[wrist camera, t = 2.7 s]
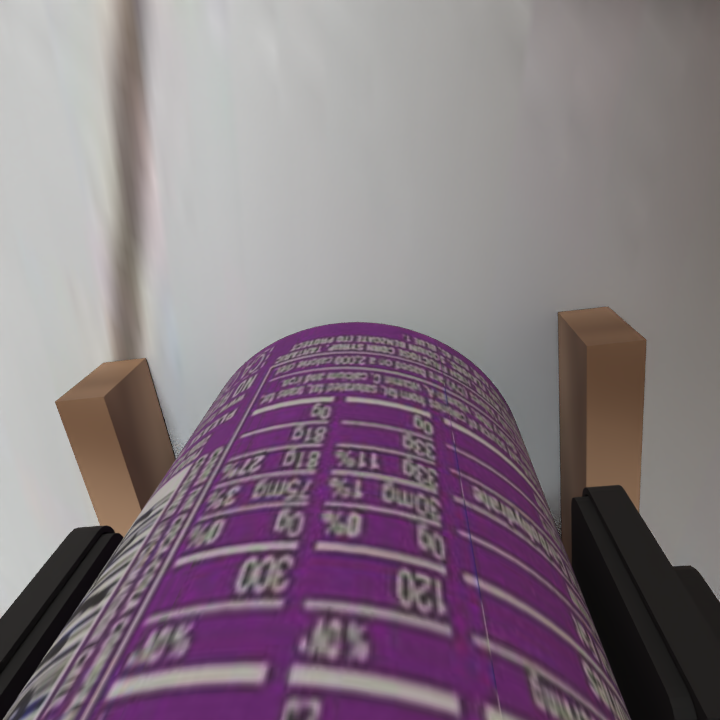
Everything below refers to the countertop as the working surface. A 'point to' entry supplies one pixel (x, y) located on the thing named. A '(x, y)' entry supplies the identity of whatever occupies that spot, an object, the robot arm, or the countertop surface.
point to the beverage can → (338, 558)
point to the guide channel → (576, 399)
